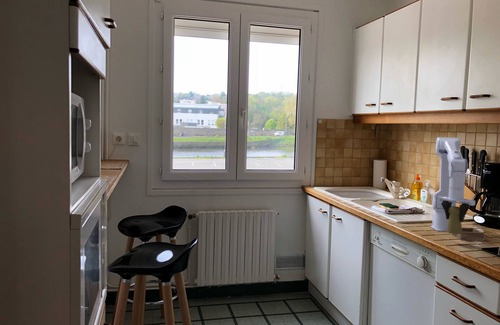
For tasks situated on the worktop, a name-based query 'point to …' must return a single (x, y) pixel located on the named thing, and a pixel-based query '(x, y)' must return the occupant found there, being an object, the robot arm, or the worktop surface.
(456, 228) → the cork
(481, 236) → the holder
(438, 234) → the worktop surface
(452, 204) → the robot arm
